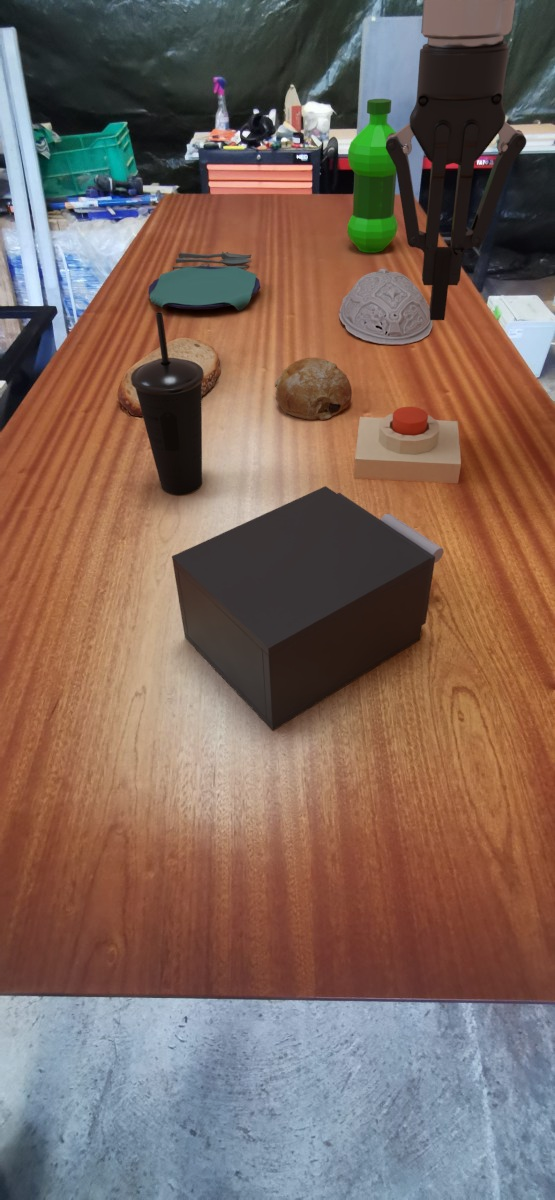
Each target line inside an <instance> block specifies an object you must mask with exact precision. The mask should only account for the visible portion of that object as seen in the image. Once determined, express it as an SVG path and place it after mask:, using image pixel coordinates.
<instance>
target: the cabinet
mask: <svg viewBox="0 0 555 1200" xmlns="http://www.w3.org/2000/svg"><path fill="white" fill-rule="evenodd" d="M337 493H338V492H335V491H334V490H333V489H331V488H329V487H328V486H323V487H320V488H318V489H316V490H314V491H311V492H309V493H307V494H305V495H302V496H300V497H298V498H296V499H294V500H292V501H290V502H288V503H285V504H283V505H281V506H279V507H277V508H274V509H272V510H270V511H268V512H266V513H264V514H261V515H259V516H257V517H255V518H253V519H250V520H248V521H246V522H244V523H242V524H240V525H237V526H235V527H233V528H231V529H228V530H227V531H224V532H222V533H220V534H218V535H216V536H213V537H211V538H209V539H206V540H205V541H203V542H200V543H198V544H196V545H194V546H191V547H190V548H187V549H185V550H183V551H180V552H178V553H176V554H175V555H172V556H171V559H172V565H173V572H174V579H175V584H176V592H177V597H178V604H179V609H180V616H181V622H182V628H183V634H184V638H185V639H186V640H187V642H188V643H189V644H190V645H191V646H192V647H193V648H194V649H195V650H196V652H198V653H199V654H200V655H201V656H202V658H204V659H205V661H206V662H207V663H208V664H209V665H210V666H211V667H212V668H213V669H214V670H215V672H217V673H218V674H219V676H221V678H222V679H223V680H224V681H225V682H226V683H227V684H228V685H229V686H230V687H231V688H232V689H233V690H234V691H235V692H236V693H237V695H239V697H240V698H241V699H242V700H243V701H244V702H245V703H246V704H247V705H248V706H249V707H250V708H251V710H253V711H254V712H255V714H256V715H257V716H258V717H259V718H260V719H261V720H262V722H264V723H265V724H266V726H268V728H270V730H272V731H275V730H276V729H278V728H280V727H282V726H283V725H285V724H286V723H288V722H289V721H291V720H293V719H294V718H296V717H298V716H299V715H301V714H303V713H305V712H306V711H307V710H309V709H311V708H312V707H314V706H316V705H317V704H319V703H320V702H322V701H323V700H325V699H327V698H328V697H330V696H332V695H333V694H335V693H336V692H338V691H340V690H342V689H343V688H345V687H347V686H348V685H349V684H351V683H353V682H354V681H356V680H358V679H359V678H361V677H362V676H364V675H365V674H368V673H369V672H370V671H373V670H374V669H375V668H377V667H379V666H380V665H382V664H384V663H385V662H387V661H389V660H390V659H392V658H393V657H396V656H397V655H398V654H400V653H401V652H403V651H405V650H406V649H407V648H410V647H411V646H412V645H415V643H417V642H419V641H420V640H421V634H422V629H423V625H422V622H423V615H424V608H425V601H426V594H427V587H428V580H429V573H430V566H431V559H432V557H430V556H429V555H427V554H426V553H424V552H423V551H421V550H420V549H418V548H417V547H415V546H414V545H412V544H411V543H409V542H408V541H407V540H405V539H404V538H402V537H401V536H399V535H398V534H396V533H395V532H393V531H392V530H390V529H389V528H387V527H386V526H384V525H383V524H381V523H380V522H378V521H377V520H375V519H374V518H372V517H371V516H369V515H368V514H366V513H365V512H363V511H362V510H360V509H359V508H357V507H356V506H354V505H353V504H351V503H350V502H349V501H347V500H346V499H344V498H343V497H341V496H340V495H338V494H337Z"/></svg>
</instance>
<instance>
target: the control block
mask: <svg viewBox="0 0 555 1200" xmlns="http://www.w3.org/2000/svg"><path fill="white" fill-rule="evenodd" d="M392 421H393V413H389V414H387V415H385V416H384V417H375V416H373V417H372V416H360V417H359V421H358V430H357V438H356V445H355V454H354V465H353V466H354V468H353V478H354V479H362V480H363V479H364V480H384V481H403V482H404V481H406V482H421V483H442V484H459V480H460V475H461V467H462V457H461V456H462V455H461V446H460V433H459V421H458V420H444V419H443V420H441V419H435V418H434V417H432V416H431V415H428V420H427V428H426V431H425V432H424V433H423V434H419V435H415V436H412V435H402V434H399V433H396V432H394V431H393V429H392Z"/></svg>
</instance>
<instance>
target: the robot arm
mask: <svg viewBox="0 0 555 1200" xmlns="http://www.w3.org/2000/svg"><path fill="white" fill-rule="evenodd" d="M515 6H516V0H423V4H422V15H421V16H422V17H421V30H420V33H421V35H422V36H423V37H424V38H427V43H425V44H423V45H422V48H420V49H419V61H418V73H417V75H418V76H417V87H416V102H415V105H414V107H413V109H412V111H411V113H410V116H409V122H408V123H407V124H406V125H405V126H403V127H402V128H400V129H399V130H397V131H396V133H391V134H389V135H388V136H387V139H386V150H387V152H388V154H389V155H390V157H391V159H392V161H393V163H394V165H395V167H396V179H397V183H398V184H397V185H398V190H399V197H400V204H401V209H402V217H403V222H404V226H405V227H404V230H405V235H406V241H407V245H408V246H409V247H410V248H416V249H420V250H421V251H422V252H423V257H422V258H423V260H422V262H423V263H422V272H421V281H422V284H423V286H431V290H430V300H429V302H430V303H429V307H430V320H433V321H445V318H446V308H447V301H448V291H449V286H458V285H459V283H460V281H461V273H462V272H461V271H462V265H463V257H464V254H465V252H466V251H467V250H469V249H472V248H478V247H481V246H482V245H483V244H484V241H485V238H486V235H487V233H488V231H489V227H490V225H491V222H492V219H493V216H494V214H495V211H496V209H497V205H498V203H499V200H500V197H501V195H502V192H503V189H504V188H505V187H504V186H505V183H506V181H507V178H508V177H509V173H510V170H511V168H512V165H513V163H514V162H515V161H516V160H517V159H518V157H519V155H521V153H522V151H523V150H524V149H525V147H526V145H527V138H526V136H525V134H524V133H523V131H522V130H520V129H515V128H514V127H513V126H511V124H509V123H508V122H507V121H506V112H505V109H504V106H503V105H504V104H503V96H504V95H503V94H504V89H505V81H506V72H507V66H508V57H509V50H510V47H509V46H508V42H507V41H505V38H504V36H506V35H509V33H510V32H511V31H512V30H513V29H512V28H513V22H514V15H515V14H514V13H515ZM497 135H498V139H497V142H496V149H497V152H498V153H497V155H496V157H495V159H494V162H493V165H492V167H491V170H490V173H489V176H488V178H487V181H486V185H485V188H484V191H483V193H482V196H481V199H480V202H479V205H478V207H477V210H476V214H475V215H474V219H473V221H472V225H471V227H470V230H467V227H468V218H469V208H470V200H471V192H472V183H473V177H474V170H475V162H476V161H478V160H479V159H480V158H481V156H482V155H483V154H484V152H485V151H486V150H487V148H488V147H489V146H490V144H492V142H493V141H494V139H495V138H496V137H497ZM413 137H415V138H414V139H416V141H417V143H418V145H419V146H420V148H421V149H422V152H423V153H424V155H425V157H426V159H427V160H428V161H429V162H430V163H431V164H430V177H429V186H428V187H429V190H428V199H427V200H428V201H427V213H426V222H425V223H426V224H425V232H424V231H422V230H420V226H419V220H418V213H417V206H416V199H415V194H414V187H413V186H414V185H413V178H412V173H411V165H410V159H409V155H410V154H411V152H412V150H413V145H412V139H413ZM451 164H452V165H453V164H455V165H457V176H456V187H455V196H454V204H453V205H454V206H453V215H452V222H451V223H452V225H451V234H450V246H439V237H440V228H441V227H440V226H441V218H442V217H441V216H442V206H443V198H444V197H443V196H444V188H445V187H444V186H445V177H446V169H447V166H448V165H451Z"/></svg>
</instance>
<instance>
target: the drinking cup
mask: <svg viewBox="0 0 555 1200" xmlns="http://www.w3.org/2000/svg"><path fill="white" fill-rule="evenodd" d="M155 319H156V326H157V334H158V338H159V339H158V341H159V342H158V343H159V347H160V349H161V356H162V359H157V360H154V361H151V362H149V363H146V364H144V365H142V366H140V367H138V368H137V369H135V370H134V372H133V373H132V375H131V382H132V385H133V386H134V387H135V388H136V392H137V396H138V400H139V403H140V407H141V411H142V415H143V416H142V419H143V423H144V426H145V430H146V433H147V437H148V441H149V444H150V448H151V453H152V456H153V461H154V464H155V468H156V472H157V475H158V479H159V483H160V488H161V489H162V491H164V492H165V493H167V494H169V495H174V496H184V495H188V494H192V493H194V492H196V491H198V490H199V489H200V488H201V486H202V484H203V433H202V432H203V427H202V426H203V423H202V419H203V415H202V411H203V407H202V406H203V405H202V404H203V403H202V397H203V396H201V382H202V380H203V377H204V372H203V369H202V367H201V366H200V365H198V364H197V363H195V362H192V361H189V360H184V359H178V358H168V352H167V344H166V343H167V336H166V329H165V322H164V314H163V312H162V311H158V312H156V313H155Z"/></svg>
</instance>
